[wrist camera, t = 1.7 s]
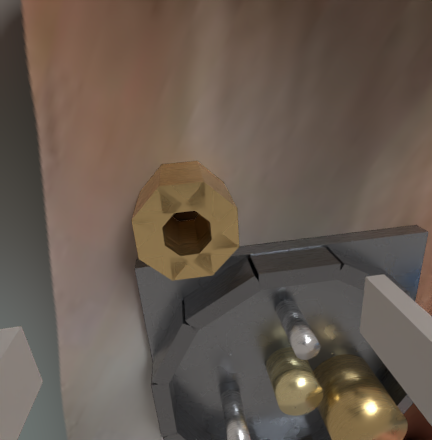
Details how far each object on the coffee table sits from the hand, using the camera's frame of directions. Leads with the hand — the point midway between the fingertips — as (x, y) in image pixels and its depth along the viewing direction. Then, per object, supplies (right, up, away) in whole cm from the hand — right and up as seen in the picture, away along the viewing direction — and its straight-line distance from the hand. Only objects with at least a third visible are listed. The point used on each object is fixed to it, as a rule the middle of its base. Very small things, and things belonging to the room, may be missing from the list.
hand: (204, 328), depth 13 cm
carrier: (+7, -9, +21) cm, 24 cm away
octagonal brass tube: (-2, +6, +13) cm, 15 cm away
